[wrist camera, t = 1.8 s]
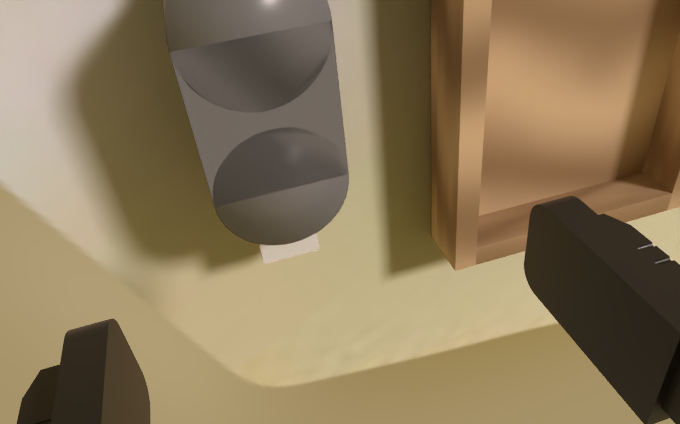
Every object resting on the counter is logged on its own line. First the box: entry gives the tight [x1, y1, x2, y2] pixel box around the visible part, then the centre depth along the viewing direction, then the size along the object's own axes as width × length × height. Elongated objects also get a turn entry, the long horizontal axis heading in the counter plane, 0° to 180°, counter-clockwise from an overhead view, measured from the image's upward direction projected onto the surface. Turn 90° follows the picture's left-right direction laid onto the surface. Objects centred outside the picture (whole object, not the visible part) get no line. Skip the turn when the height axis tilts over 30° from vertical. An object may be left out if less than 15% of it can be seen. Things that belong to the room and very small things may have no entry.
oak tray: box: [431, 0, 680, 271], centre depth 21 cm, size 20×12×3 cm, turn 7°
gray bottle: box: [162, 0, 349, 264], centre depth 18 cm, size 14×4×4 cm, turn 6°
